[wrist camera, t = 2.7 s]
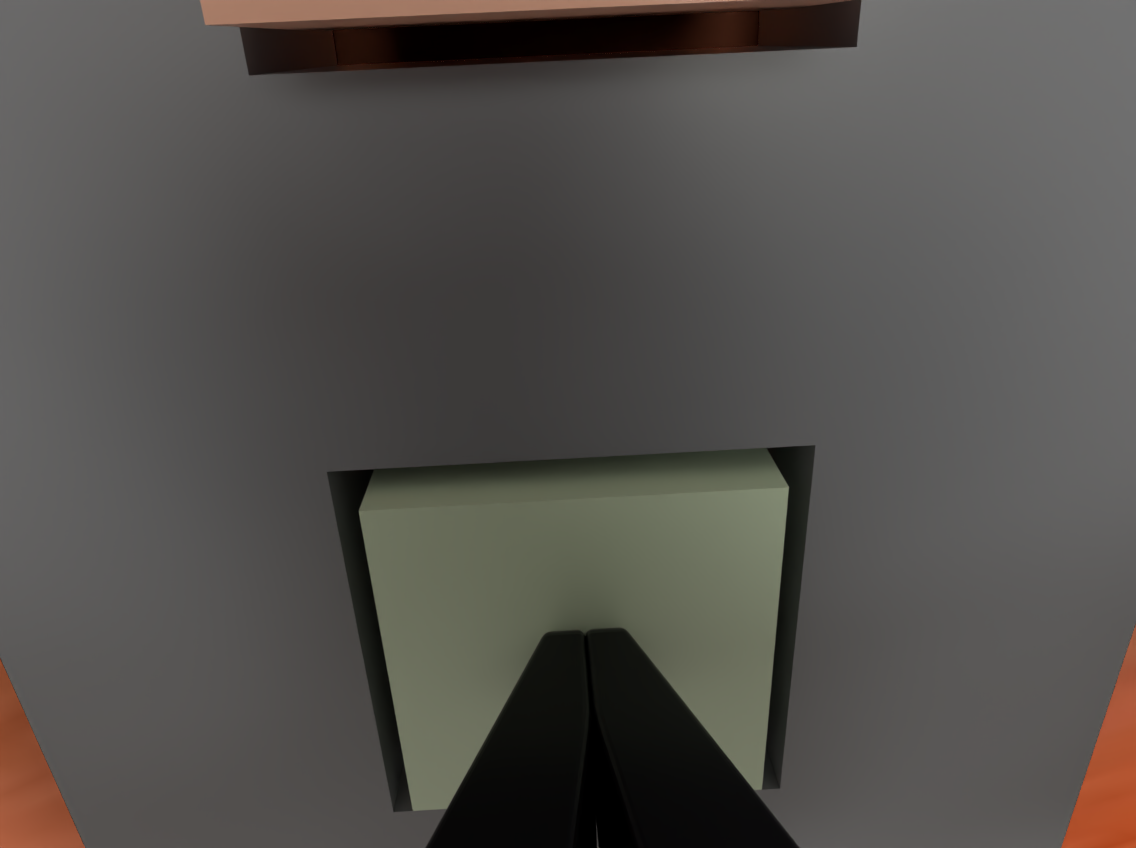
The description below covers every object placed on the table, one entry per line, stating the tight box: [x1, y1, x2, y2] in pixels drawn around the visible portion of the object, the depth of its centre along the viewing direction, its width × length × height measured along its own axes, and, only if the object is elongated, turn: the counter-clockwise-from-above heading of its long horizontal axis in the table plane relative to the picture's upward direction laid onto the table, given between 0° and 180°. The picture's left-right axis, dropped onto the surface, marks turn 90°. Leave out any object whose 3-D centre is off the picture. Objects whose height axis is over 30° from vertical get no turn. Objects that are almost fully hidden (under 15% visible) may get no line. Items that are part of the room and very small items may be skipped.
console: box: [0, 0, 1136, 848], centre depth 10 cm, size 12×26×3 cm, turn 3°
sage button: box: [359, 448, 789, 811], centre depth 9 cm, size 4×4×2 cm
